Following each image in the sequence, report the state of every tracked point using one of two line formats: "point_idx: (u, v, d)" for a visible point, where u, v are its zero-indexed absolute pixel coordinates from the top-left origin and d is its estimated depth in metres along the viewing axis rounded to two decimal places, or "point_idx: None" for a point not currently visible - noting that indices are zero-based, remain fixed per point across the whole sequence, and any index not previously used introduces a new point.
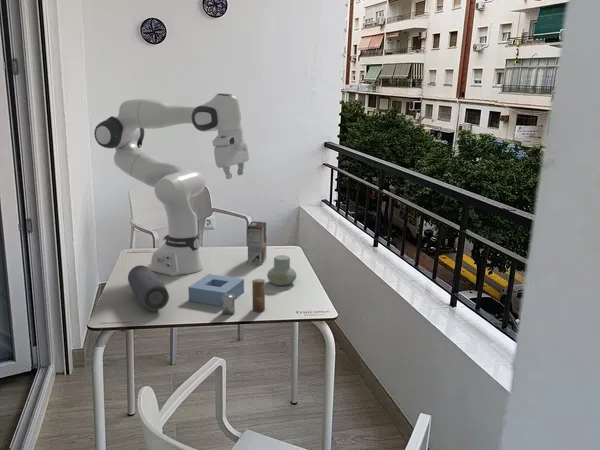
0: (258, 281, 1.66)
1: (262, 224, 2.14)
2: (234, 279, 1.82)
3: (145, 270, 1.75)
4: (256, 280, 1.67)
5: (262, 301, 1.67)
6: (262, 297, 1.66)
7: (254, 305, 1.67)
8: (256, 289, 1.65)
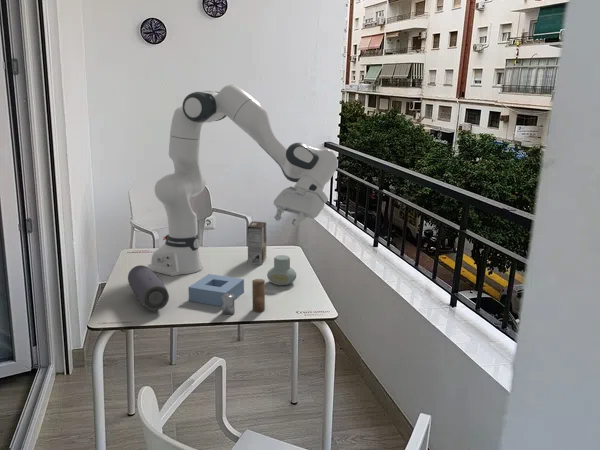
0: (258, 281, 1.66)
1: (262, 224, 2.14)
2: (234, 279, 1.82)
3: (145, 270, 1.75)
4: (256, 280, 1.67)
5: (262, 301, 1.67)
6: (262, 297, 1.66)
7: (254, 305, 1.67)
8: (256, 289, 1.65)
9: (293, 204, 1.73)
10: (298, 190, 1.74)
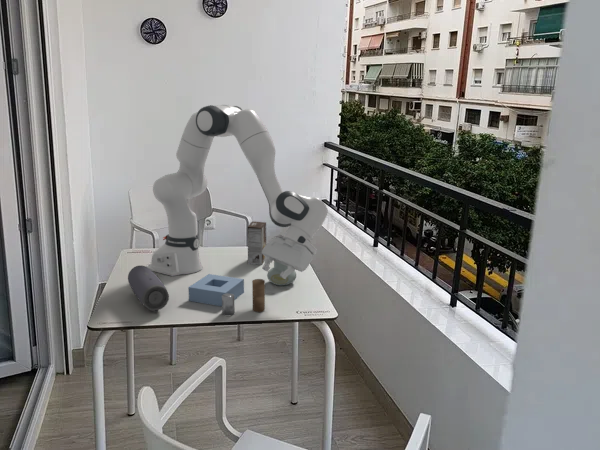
0: (258, 281, 1.66)
1: (262, 224, 2.14)
2: (234, 279, 1.82)
3: (145, 270, 1.75)
4: (256, 280, 1.67)
5: (262, 301, 1.67)
6: (262, 297, 1.66)
7: (254, 305, 1.67)
8: (256, 289, 1.65)
9: (282, 256, 1.70)
10: (287, 241, 1.71)
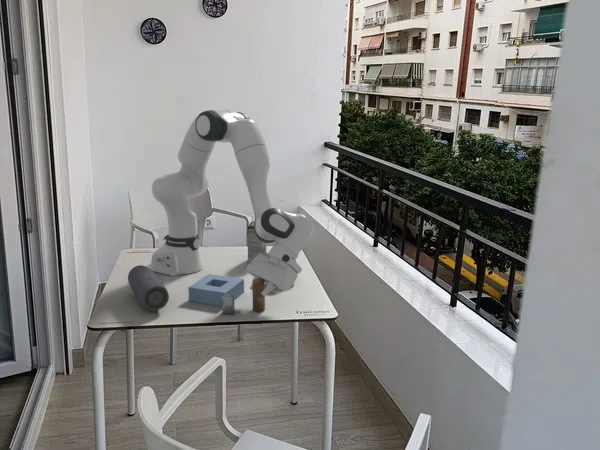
0: (258, 281, 1.66)
1: None
2: (234, 279, 1.82)
3: (145, 270, 1.75)
4: (256, 280, 1.67)
5: (262, 301, 1.67)
6: (262, 297, 1.66)
7: (254, 305, 1.67)
8: (256, 289, 1.65)
9: (266, 274, 1.67)
10: (271, 259, 1.68)
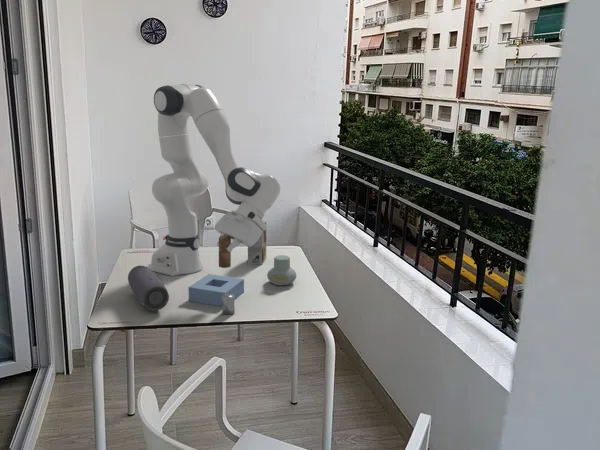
0: (224, 237, 1.71)
1: None
2: (234, 279, 1.82)
3: (145, 270, 1.75)
4: (222, 237, 1.72)
5: (228, 257, 1.72)
6: (228, 253, 1.72)
7: (220, 261, 1.72)
8: (222, 245, 1.70)
9: (232, 231, 1.72)
10: (237, 216, 1.73)
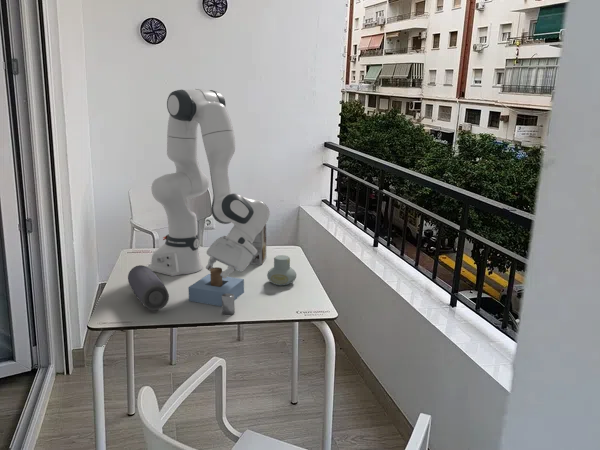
0: (216, 269, 1.77)
1: None
2: (234, 279, 1.82)
3: (145, 270, 1.75)
4: (214, 268, 1.77)
5: None
6: (219, 284, 1.77)
7: None
8: (214, 276, 1.76)
9: (223, 256, 1.77)
10: (228, 242, 1.78)
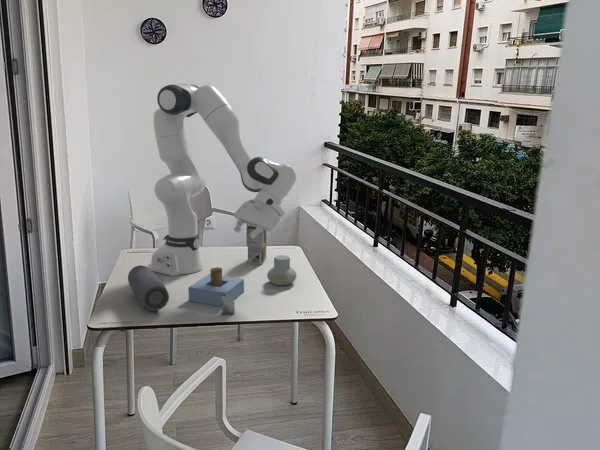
0: (216, 269, 1.77)
1: None
2: (234, 279, 1.82)
3: (145, 270, 1.75)
4: (214, 268, 1.77)
5: None
6: (219, 284, 1.77)
7: None
8: (214, 276, 1.76)
9: (251, 217, 1.81)
10: (256, 204, 1.82)
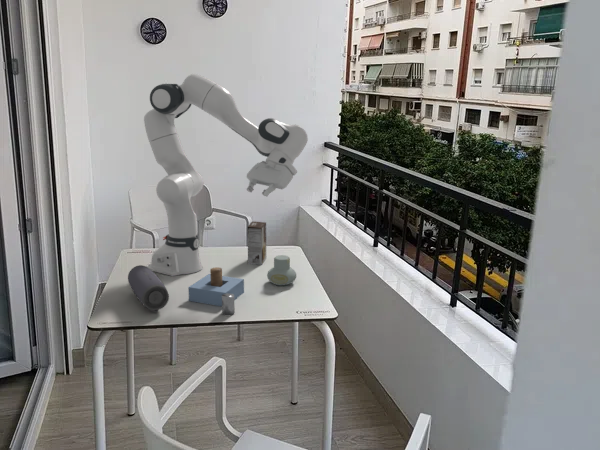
0: (216, 269, 1.77)
1: (262, 224, 2.14)
2: (234, 279, 1.82)
3: (145, 270, 1.75)
4: (214, 268, 1.77)
5: None
6: (219, 284, 1.77)
7: None
8: (214, 276, 1.76)
9: (264, 176, 1.83)
10: (269, 163, 1.84)
